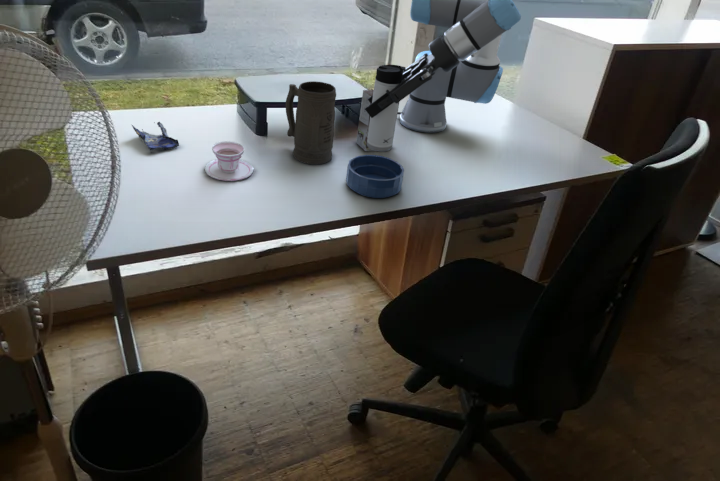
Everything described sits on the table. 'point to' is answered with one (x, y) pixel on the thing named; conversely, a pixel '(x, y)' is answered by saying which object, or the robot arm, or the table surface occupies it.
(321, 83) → the beer stein
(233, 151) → the teacup
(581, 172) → the table surface
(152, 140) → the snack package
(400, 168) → the bowl
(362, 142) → the cookie box
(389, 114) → the travel mug
